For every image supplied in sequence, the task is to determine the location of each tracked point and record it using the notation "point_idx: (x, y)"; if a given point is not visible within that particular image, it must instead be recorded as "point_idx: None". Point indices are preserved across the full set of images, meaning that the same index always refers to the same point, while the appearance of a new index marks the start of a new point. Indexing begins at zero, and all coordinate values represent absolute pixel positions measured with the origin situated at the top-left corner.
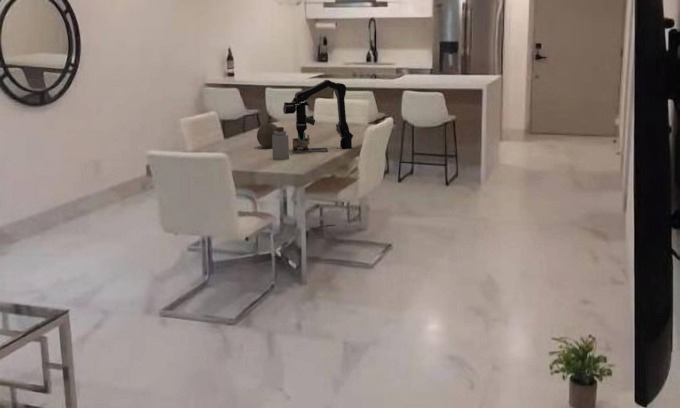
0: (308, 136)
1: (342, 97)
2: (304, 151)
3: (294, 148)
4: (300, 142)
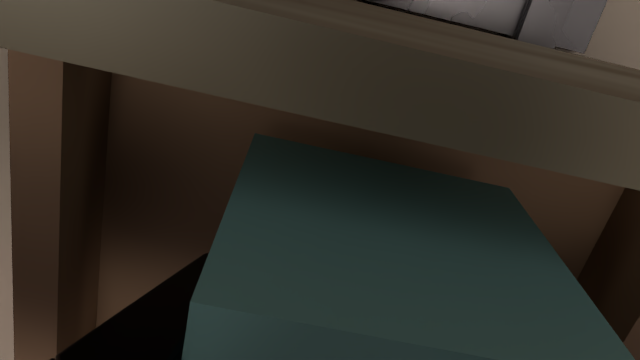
0: (510, 111)
1: None
2: None
3: None
4: None
